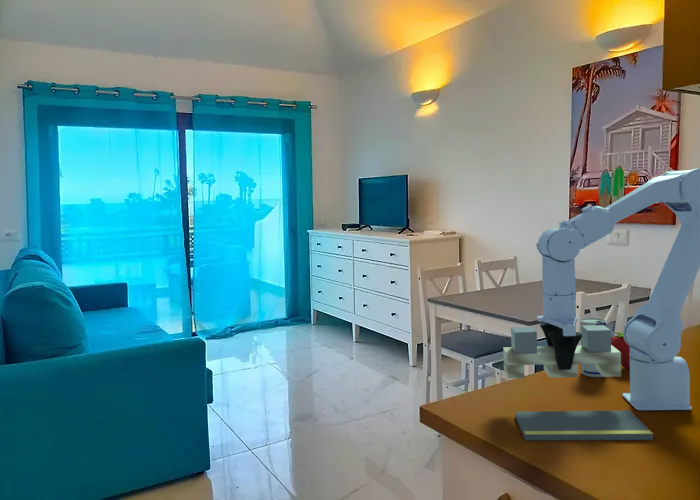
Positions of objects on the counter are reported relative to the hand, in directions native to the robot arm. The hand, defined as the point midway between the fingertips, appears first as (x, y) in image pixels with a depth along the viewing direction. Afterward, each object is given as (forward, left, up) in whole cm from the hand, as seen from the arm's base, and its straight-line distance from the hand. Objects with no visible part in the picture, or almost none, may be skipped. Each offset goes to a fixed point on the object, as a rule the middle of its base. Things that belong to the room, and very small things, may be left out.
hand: (560, 364), depth 106 cm
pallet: (0, 0, -2) cm, 2 cm away
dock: (-1, +9, -8) cm, 12 cm away
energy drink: (-12, -20, -9) cm, 25 cm away
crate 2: (-6, 0, +3) cm, 7 cm away
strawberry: (-20, -23, -9) cm, 31 cm away
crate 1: (+7, 0, +3) cm, 7 cm away
